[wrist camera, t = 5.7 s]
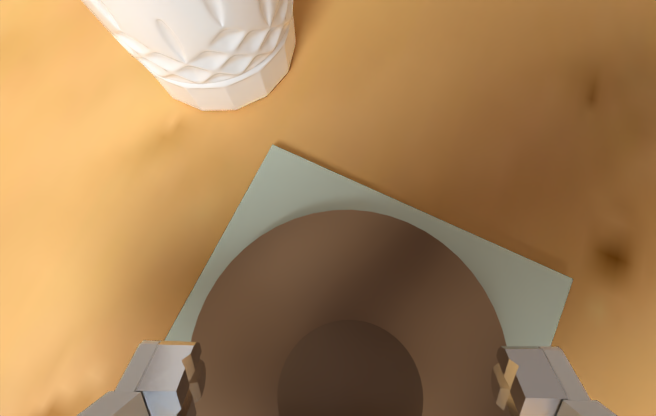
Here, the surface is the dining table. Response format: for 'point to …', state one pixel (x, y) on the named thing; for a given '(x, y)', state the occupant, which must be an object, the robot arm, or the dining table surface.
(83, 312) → the dining table surface
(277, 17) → the white cup
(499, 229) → the dining table surface
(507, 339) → the mat
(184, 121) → the dining table surface
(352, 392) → the lid
